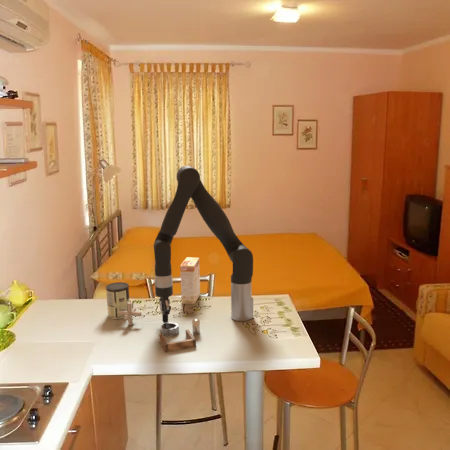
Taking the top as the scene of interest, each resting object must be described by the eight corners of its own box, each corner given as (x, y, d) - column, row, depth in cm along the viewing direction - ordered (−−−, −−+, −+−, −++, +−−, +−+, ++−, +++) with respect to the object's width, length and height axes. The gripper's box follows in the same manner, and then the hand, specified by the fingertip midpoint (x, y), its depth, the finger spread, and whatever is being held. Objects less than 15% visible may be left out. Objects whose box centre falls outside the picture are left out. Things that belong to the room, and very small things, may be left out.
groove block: (188, 336, 198) (188, 329, 197) (196, 346, 189) (195, 339, 188) (159, 341, 194) (158, 334, 193) (165, 352, 184) (165, 345, 184)
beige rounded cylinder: (198, 331, 202) (198, 318, 201) (200, 334, 200) (200, 320, 198) (191, 332, 201) (191, 319, 200) (193, 335, 199) (193, 321, 197)
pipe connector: (136, 329, 205) (135, 307, 203) (115, 328, 207) (113, 306, 205) (145, 320, 214) (144, 299, 212) (124, 319, 216) (123, 298, 214)
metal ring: (175, 328, 206) (175, 321, 205) (180, 334, 200) (179, 327, 199) (160, 330, 204) (159, 324, 203) (164, 337, 197) (163, 330, 197)
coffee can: (119, 308, 228) (117, 280, 225) (135, 313, 223) (133, 284, 220) (102, 316, 220) (100, 287, 217) (119, 320, 214) (117, 291, 211)
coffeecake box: (187, 293, 248) (186, 256, 244) (200, 293, 247) (199, 257, 243) (180, 303, 234) (179, 265, 230) (195, 304, 233) (194, 265, 229)
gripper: (176, 287, 200) (177, 326, 204) (168, 278, 212) (170, 315, 216) (158, 290, 198) (160, 329, 201) (151, 280, 210) (153, 317, 214)
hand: (165, 322), depth 209 cm, fingers closed
